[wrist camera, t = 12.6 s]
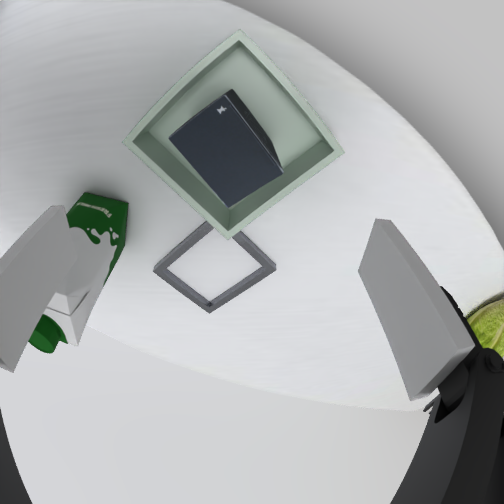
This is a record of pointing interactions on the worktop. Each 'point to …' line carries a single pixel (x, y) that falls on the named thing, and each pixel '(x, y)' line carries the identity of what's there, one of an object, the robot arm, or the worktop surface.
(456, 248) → the worktop surface
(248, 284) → the collar
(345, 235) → the worktop surface
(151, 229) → the worktop surface
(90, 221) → the milk carton
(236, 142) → the box
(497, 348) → the lettuce
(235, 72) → the bin
